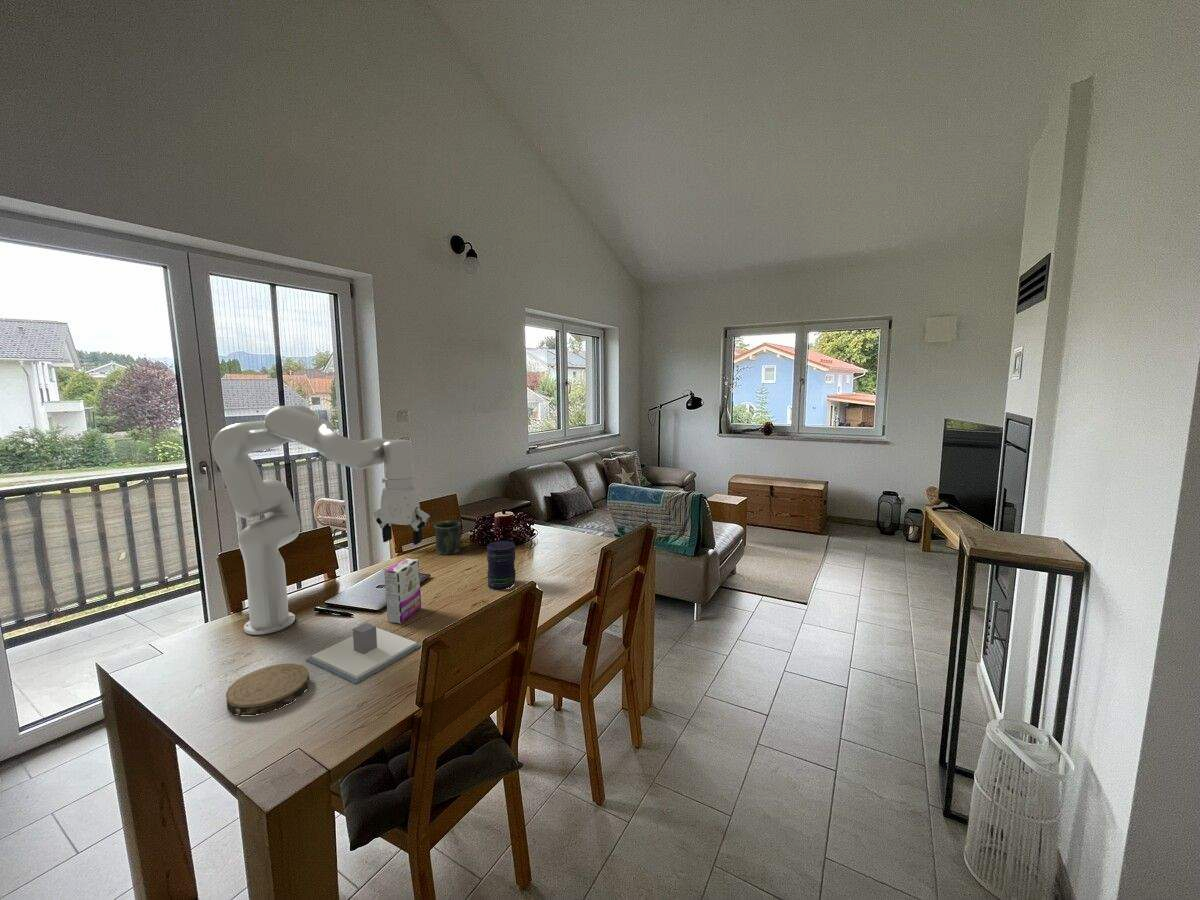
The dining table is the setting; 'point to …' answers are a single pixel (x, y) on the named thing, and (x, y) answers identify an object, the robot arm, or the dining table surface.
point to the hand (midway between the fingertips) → (402, 541)
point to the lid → (364, 650)
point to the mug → (448, 537)
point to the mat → (366, 673)
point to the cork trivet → (267, 689)
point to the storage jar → (501, 564)
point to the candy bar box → (402, 590)
